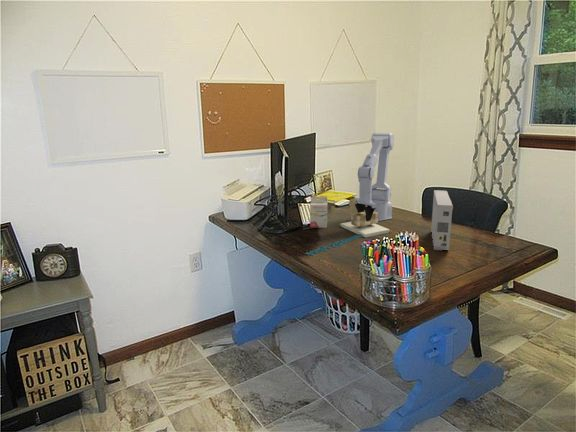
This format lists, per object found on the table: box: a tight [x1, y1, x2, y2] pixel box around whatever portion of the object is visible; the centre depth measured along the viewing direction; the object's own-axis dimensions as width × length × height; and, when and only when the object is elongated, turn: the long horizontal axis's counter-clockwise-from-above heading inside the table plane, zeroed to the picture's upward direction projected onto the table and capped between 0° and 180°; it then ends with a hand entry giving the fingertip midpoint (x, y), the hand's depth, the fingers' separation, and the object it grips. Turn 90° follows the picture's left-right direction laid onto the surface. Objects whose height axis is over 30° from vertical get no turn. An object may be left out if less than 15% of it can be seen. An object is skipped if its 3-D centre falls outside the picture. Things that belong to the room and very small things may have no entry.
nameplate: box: [304, 234, 363, 256], centre depth 183 cm, size 37×1×5 cm
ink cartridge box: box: [309, 196, 328, 229], centre depth 207 cm, size 9×5×15 cm, turn 84°
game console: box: [430, 189, 454, 251], centre depth 180 cm, size 6×27×20 cm, turn 164°
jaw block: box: [350, 211, 379, 227], centre depth 201 cm, size 5×12×5 cm, turn 117°
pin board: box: [340, 221, 391, 238], centre depth 202 cm, size 14×20×5 cm
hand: (364, 219), depth 201 cm, fingers closed on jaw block, 5 cm apart
